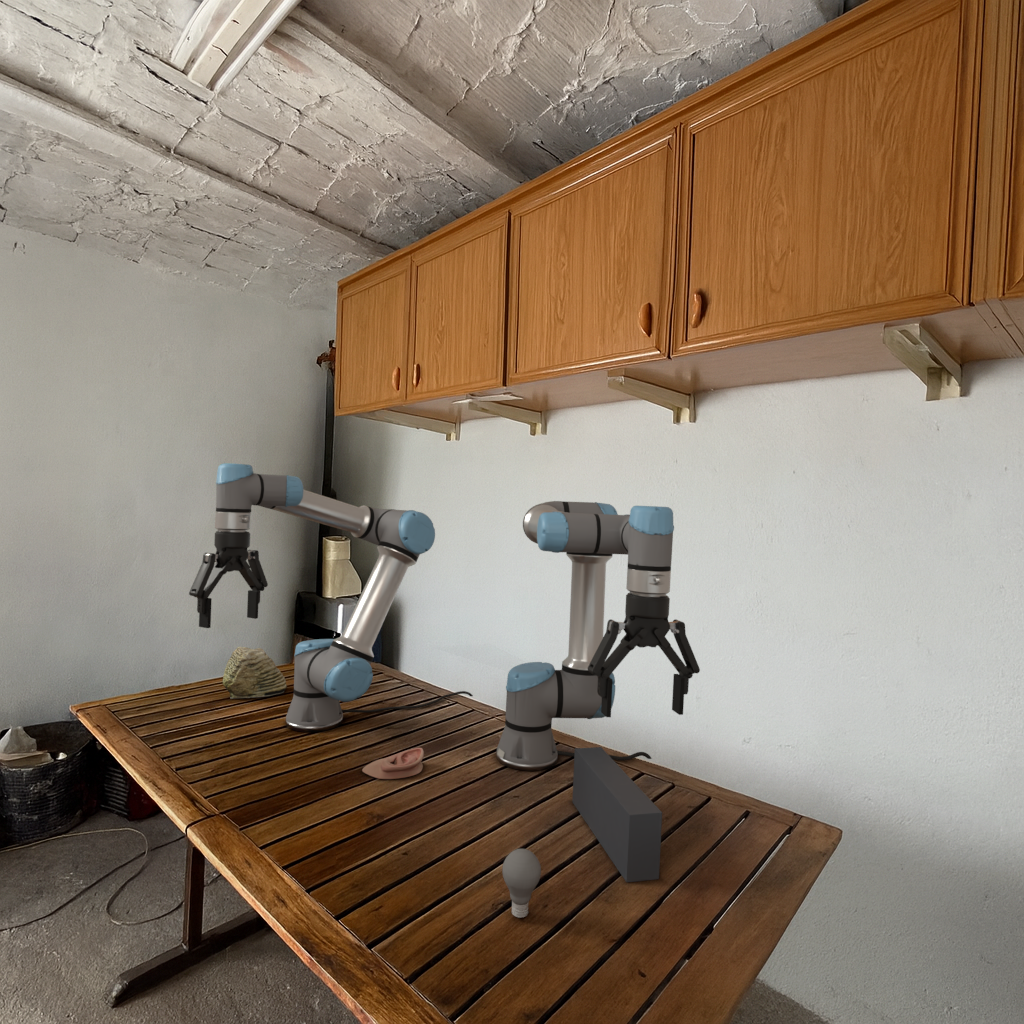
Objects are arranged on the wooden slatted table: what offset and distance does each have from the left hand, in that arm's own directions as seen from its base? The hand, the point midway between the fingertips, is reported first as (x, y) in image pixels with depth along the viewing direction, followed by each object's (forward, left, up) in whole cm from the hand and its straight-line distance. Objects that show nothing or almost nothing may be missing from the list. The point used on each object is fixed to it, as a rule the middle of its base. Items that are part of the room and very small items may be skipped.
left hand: (229, 622), depth 146 cm
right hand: (-28, +91, -6) cm, 95 cm away
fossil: (-31, -43, -33) cm, 63 cm away
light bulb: (-4, +84, -33) cm, 90 cm away
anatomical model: (-25, +30, -33) cm, 51 cm away
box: (-35, +82, -33) cm, 95 cm away
